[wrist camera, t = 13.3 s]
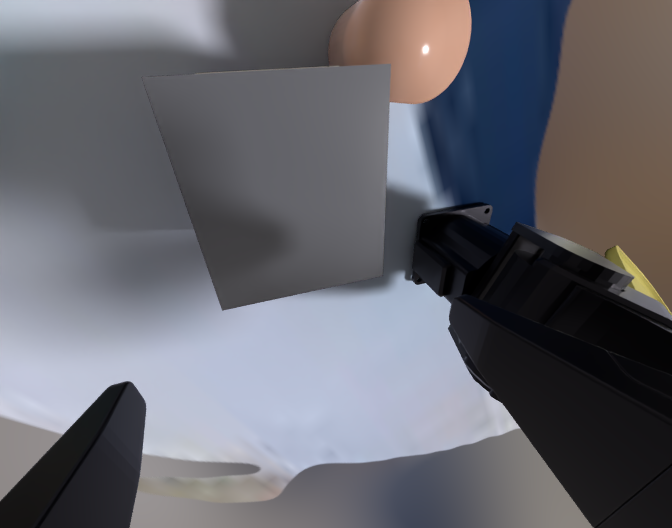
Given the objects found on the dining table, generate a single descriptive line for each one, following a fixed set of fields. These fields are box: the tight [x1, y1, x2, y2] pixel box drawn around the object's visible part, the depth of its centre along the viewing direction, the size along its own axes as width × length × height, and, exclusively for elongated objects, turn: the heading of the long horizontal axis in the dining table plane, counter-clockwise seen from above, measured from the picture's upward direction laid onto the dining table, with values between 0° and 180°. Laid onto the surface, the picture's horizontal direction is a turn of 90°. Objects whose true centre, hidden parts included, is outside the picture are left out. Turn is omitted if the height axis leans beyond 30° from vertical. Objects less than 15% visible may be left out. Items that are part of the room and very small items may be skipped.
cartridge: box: [328, 0, 471, 104], centre depth 14 cm, size 4×4×6 cm
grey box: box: [142, 64, 391, 310], centre depth 14 cm, size 8×9×8 cm
